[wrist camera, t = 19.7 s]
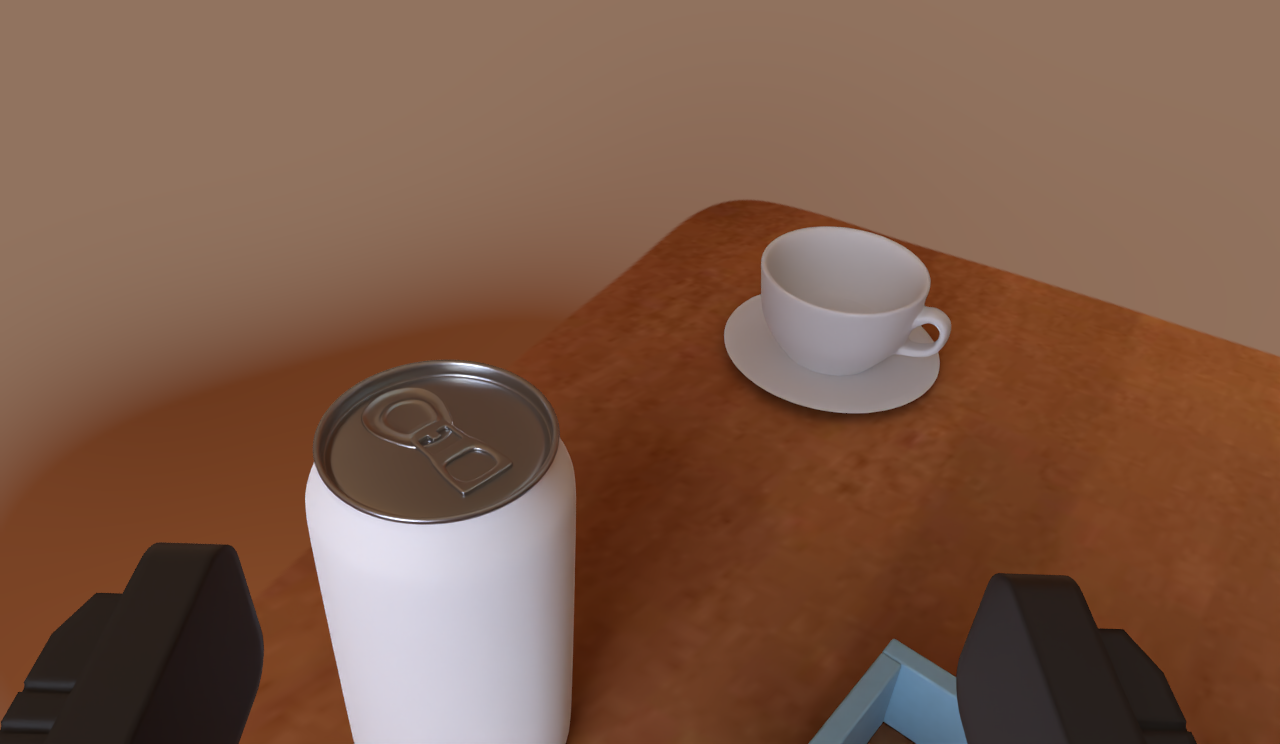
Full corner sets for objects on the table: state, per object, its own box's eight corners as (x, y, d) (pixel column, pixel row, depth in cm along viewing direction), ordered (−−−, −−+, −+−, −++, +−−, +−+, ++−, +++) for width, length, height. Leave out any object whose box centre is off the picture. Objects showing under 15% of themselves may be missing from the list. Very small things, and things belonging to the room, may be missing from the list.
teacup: (685, 370, 45) (693, 283, 42) (775, 273, 52) (787, 193, 49) (897, 452, 41) (922, 362, 39) (963, 335, 48) (988, 252, 45)
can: (479, 606, 34) (460, 318, 27) (615, 726, 31) (635, 435, 23) (313, 725, 30) (236, 427, 23) (446, 878, 27) (408, 587, 19)
